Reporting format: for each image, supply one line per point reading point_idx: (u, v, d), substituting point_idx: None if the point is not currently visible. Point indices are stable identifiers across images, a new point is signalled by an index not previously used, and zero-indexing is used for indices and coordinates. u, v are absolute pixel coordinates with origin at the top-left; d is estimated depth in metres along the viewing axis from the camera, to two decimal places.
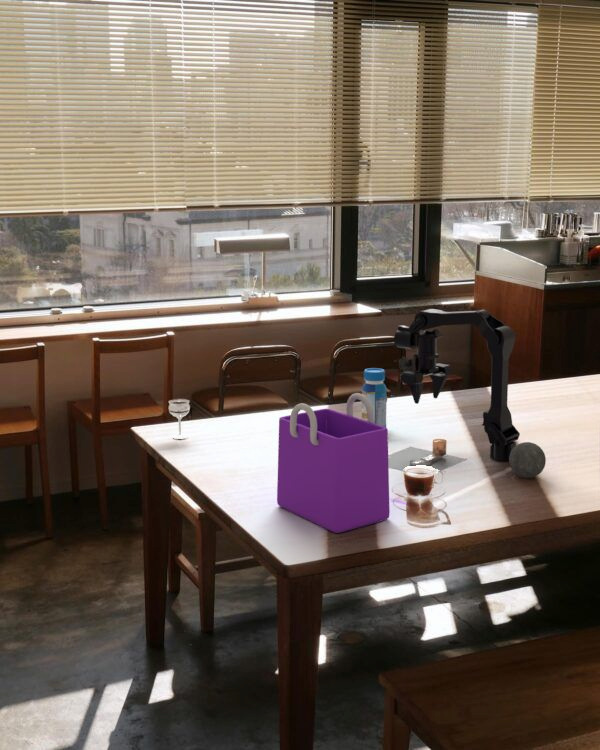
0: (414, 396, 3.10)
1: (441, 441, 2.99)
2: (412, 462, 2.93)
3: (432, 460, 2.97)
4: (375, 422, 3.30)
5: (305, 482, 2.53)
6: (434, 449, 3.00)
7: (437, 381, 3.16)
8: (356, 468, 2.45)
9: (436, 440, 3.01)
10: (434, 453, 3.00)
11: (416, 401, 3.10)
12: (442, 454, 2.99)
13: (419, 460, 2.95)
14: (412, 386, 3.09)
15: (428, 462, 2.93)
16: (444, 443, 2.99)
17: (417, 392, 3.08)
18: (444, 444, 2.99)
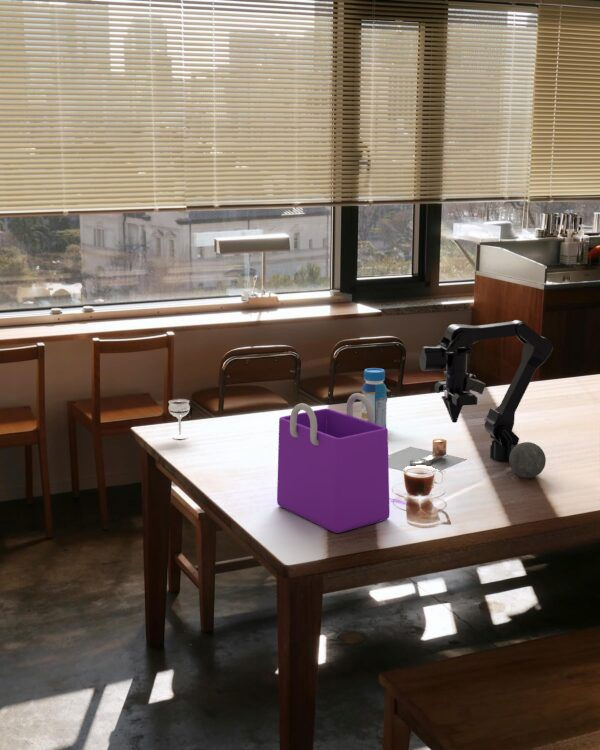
0: None
1: (441, 441, 2.99)
2: (412, 462, 2.93)
3: (432, 460, 2.97)
4: (375, 422, 3.30)
5: (305, 482, 2.53)
6: (434, 449, 3.00)
7: None
8: (356, 468, 2.45)
9: (436, 440, 3.01)
10: (434, 453, 3.00)
11: None
12: (442, 454, 2.99)
13: (419, 460, 2.95)
14: None
15: (428, 462, 2.93)
16: (444, 443, 2.99)
17: None
18: (444, 444, 2.99)
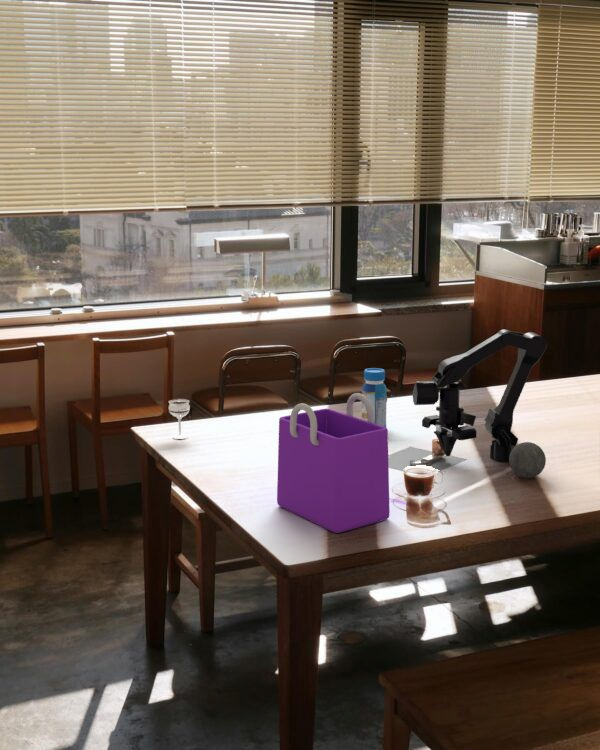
0: None
1: None
2: (412, 462, 2.93)
3: (432, 460, 2.97)
4: (375, 422, 3.30)
5: (305, 482, 2.53)
6: (434, 449, 3.00)
7: None
8: (356, 468, 2.45)
9: (435, 440, 3.01)
10: (434, 453, 3.00)
11: None
12: (442, 454, 2.99)
13: (419, 460, 2.95)
14: None
15: (428, 462, 2.93)
16: None
17: None
18: None
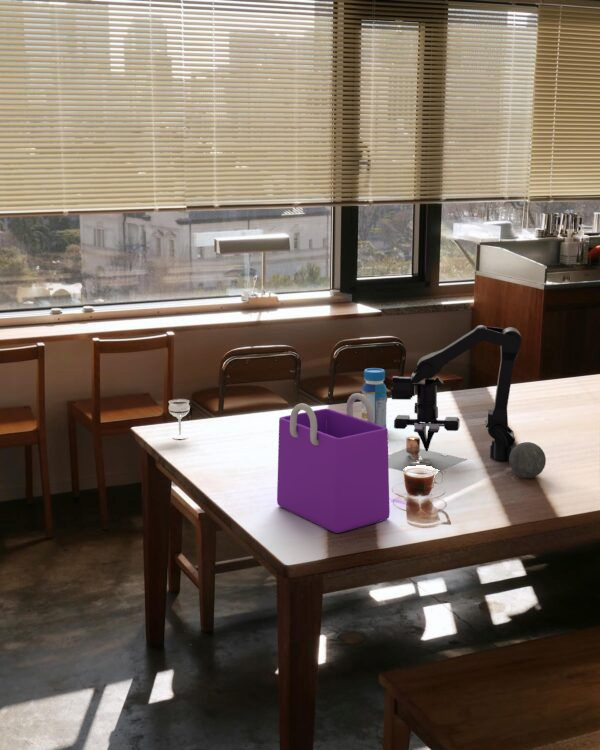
0: None
1: (416, 439, 3.02)
2: (417, 464, 2.92)
3: None
4: (375, 422, 3.30)
5: (305, 482, 2.53)
6: (412, 448, 3.01)
7: None
8: (356, 468, 2.45)
9: (410, 439, 3.02)
10: (412, 452, 3.02)
11: None
12: (419, 451, 3.03)
13: (417, 460, 2.95)
14: None
15: (427, 460, 2.95)
16: (419, 440, 3.03)
17: None
18: (419, 441, 3.03)
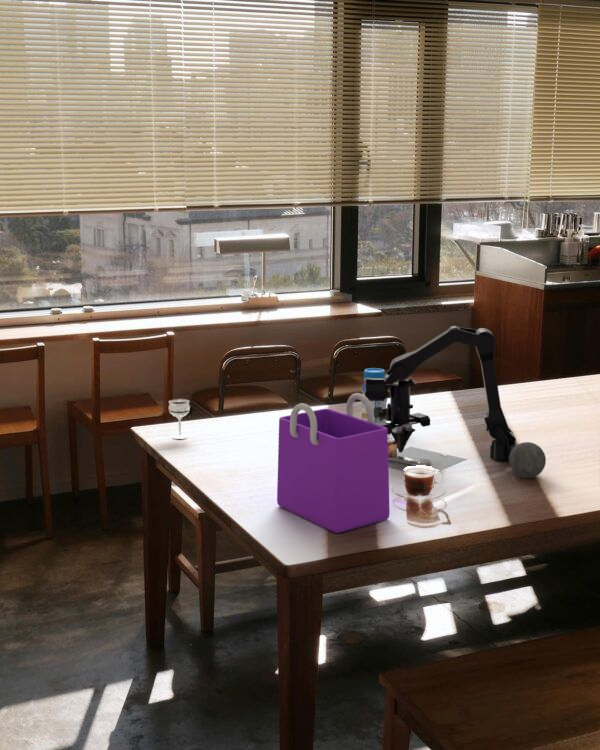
0: (398, 445, 3.01)
1: (394, 442, 2.99)
2: (424, 464, 2.92)
3: None
4: None
5: (305, 482, 2.53)
6: (395, 451, 2.98)
7: None
8: (356, 468, 2.45)
9: (390, 443, 2.98)
10: (395, 455, 2.98)
11: (399, 450, 3.01)
12: None
13: (416, 461, 2.94)
14: (395, 434, 3.00)
15: (421, 459, 2.96)
16: None
17: (399, 441, 2.99)
18: None
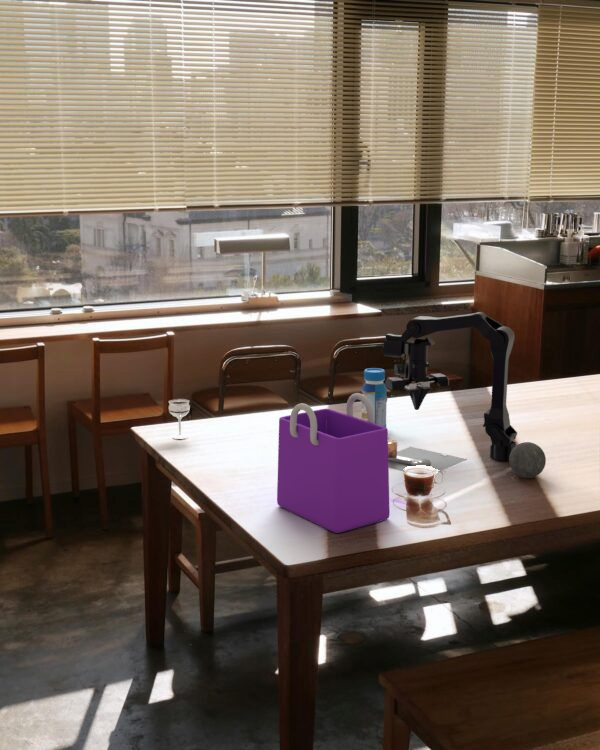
0: (413, 402, 3.08)
1: (394, 442, 2.99)
2: (424, 464, 2.92)
3: None
4: (375, 422, 3.30)
5: (305, 482, 2.53)
6: (395, 451, 2.98)
7: (419, 392, 3.07)
8: (356, 468, 2.45)
9: (390, 443, 2.98)
10: (395, 455, 2.98)
11: (415, 407, 3.08)
12: None
13: (416, 461, 2.94)
14: (411, 392, 3.08)
15: (421, 459, 2.96)
16: None
17: (414, 398, 3.06)
18: None
